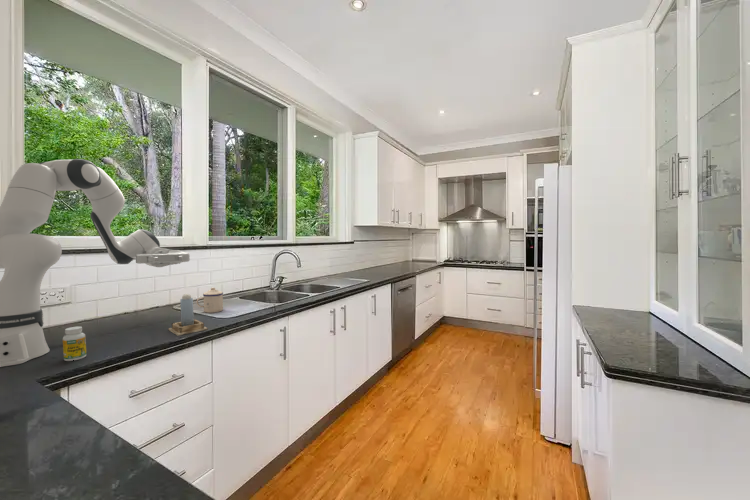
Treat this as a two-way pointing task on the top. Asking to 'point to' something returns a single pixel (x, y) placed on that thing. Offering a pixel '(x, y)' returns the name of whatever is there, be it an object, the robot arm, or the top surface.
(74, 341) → the supplement bottle
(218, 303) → the teacup with lid
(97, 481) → the top surface
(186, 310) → the blue bottle
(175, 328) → the cradle jig
